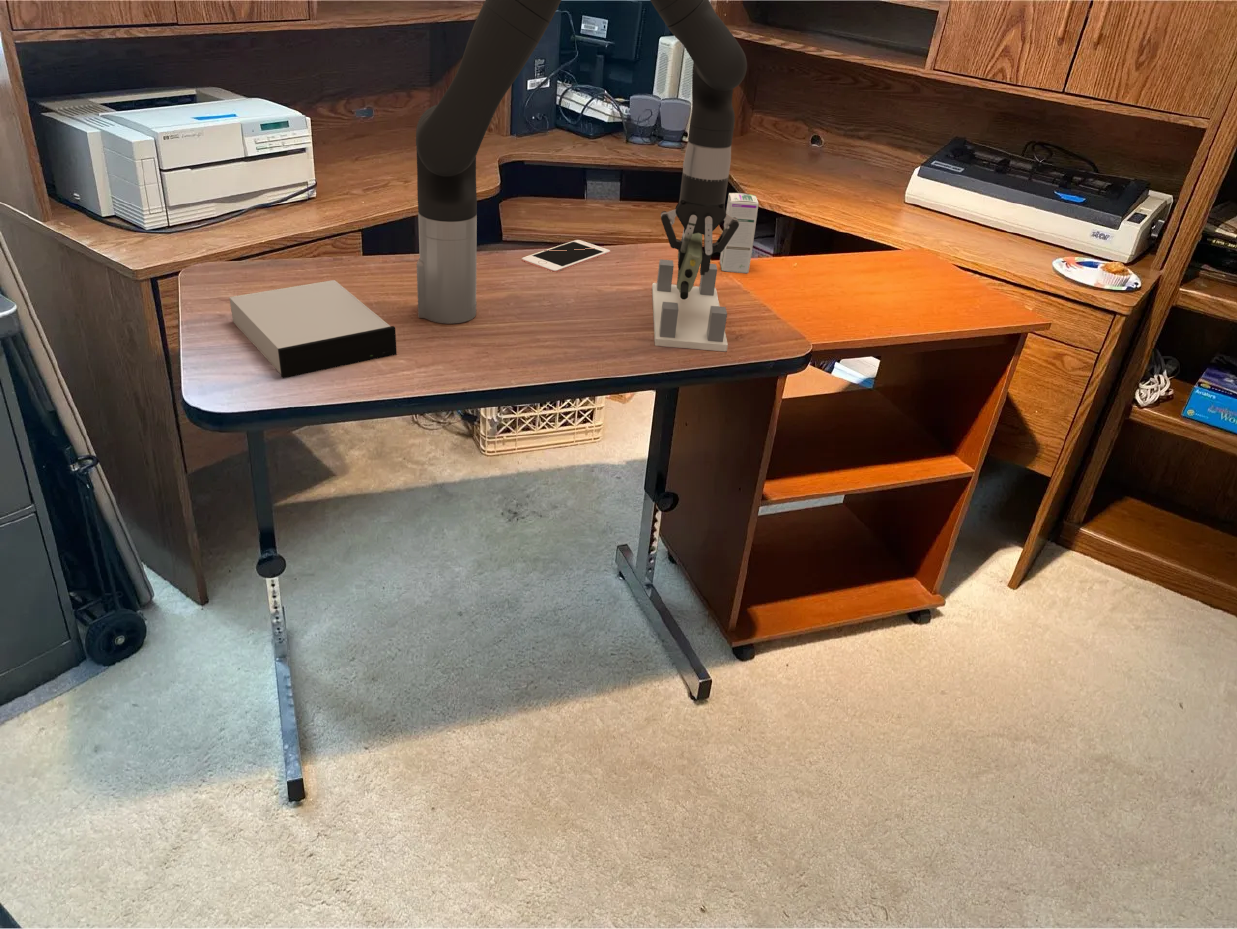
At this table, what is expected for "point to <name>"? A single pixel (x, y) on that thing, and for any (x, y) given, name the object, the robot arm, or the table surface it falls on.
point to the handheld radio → (690, 266)
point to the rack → (688, 312)
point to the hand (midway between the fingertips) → (692, 272)
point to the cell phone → (565, 255)
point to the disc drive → (312, 327)
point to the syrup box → (740, 233)
